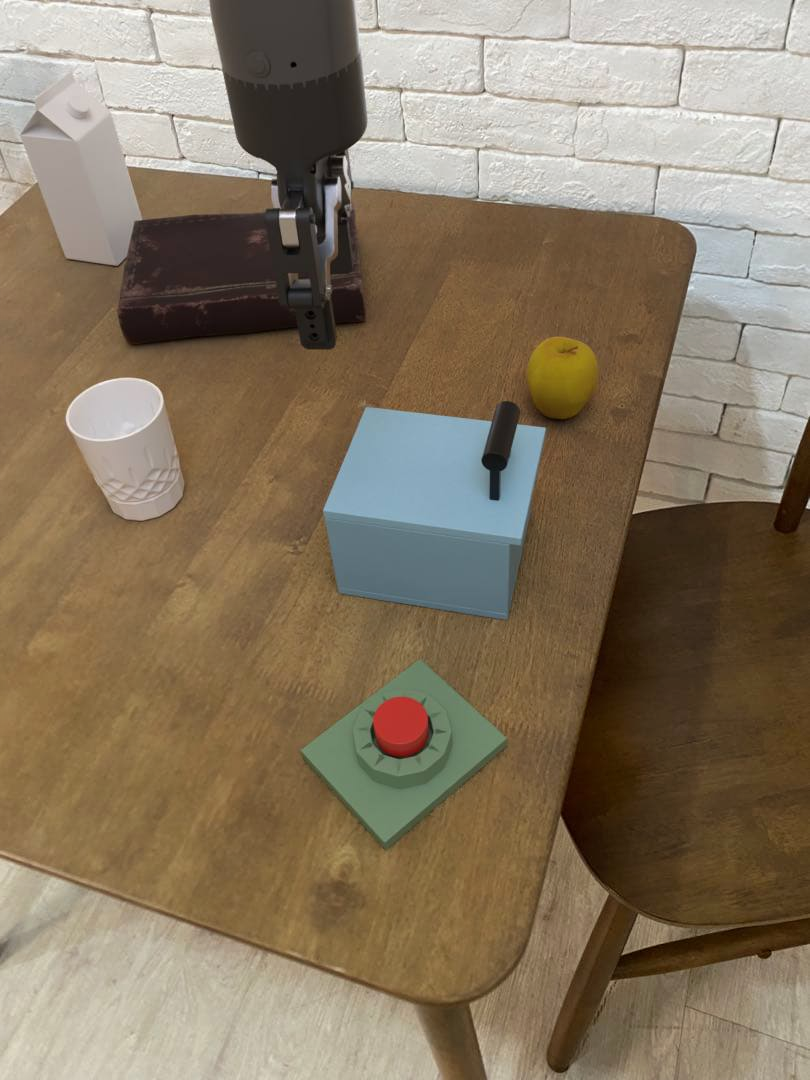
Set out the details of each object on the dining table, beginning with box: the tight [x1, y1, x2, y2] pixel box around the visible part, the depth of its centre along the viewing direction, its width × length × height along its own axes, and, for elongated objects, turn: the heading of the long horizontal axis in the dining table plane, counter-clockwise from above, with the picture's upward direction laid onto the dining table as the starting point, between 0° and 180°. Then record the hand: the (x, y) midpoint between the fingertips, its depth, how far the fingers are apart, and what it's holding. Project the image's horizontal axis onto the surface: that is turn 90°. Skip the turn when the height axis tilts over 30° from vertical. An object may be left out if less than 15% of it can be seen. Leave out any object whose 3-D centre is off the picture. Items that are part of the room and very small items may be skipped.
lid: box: [322, 400, 547, 546], centre depth 68 cm, size 14×12×6 cm
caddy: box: [324, 498, 533, 621], centre depth 74 cm, size 14×12×9 cm
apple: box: [526, 335, 600, 420], centre depth 85 cm, size 6×6×8 cm
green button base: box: [300, 658, 508, 851], centre depth 64 cm, size 11×9×3 cm
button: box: [373, 697, 429, 757], centre depth 62 cm, size 4×4×2 cm
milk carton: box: [19, 70, 143, 267], centre depth 105 cm, size 7×7×19 cm
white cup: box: [65, 377, 185, 522], centre depth 80 cm, size 8×8×10 cm
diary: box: [116, 202, 367, 346], centre depth 102 cm, size 19×25×5 cm
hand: (329, 306), depth 62 cm, fingers open, 8 cm apart
